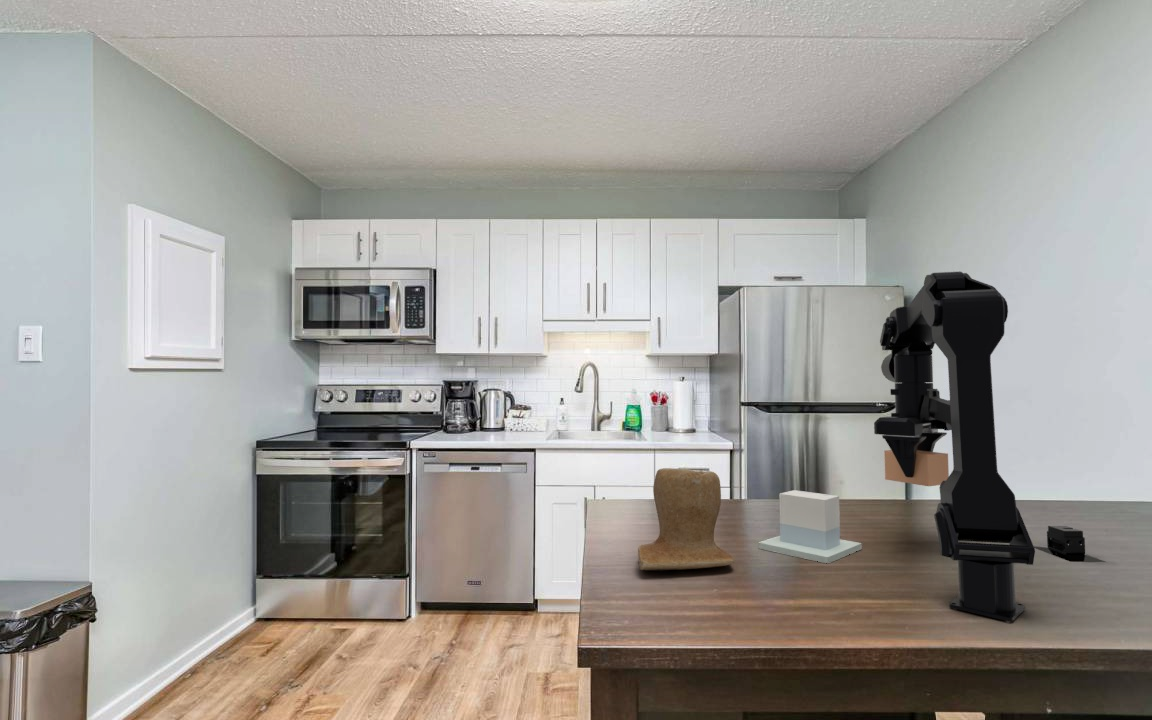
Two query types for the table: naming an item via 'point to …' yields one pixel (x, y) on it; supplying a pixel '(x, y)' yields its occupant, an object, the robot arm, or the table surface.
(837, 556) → the baseplate
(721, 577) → the table surface
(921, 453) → the terracotta brick
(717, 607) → the table surface
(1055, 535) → the black mechanical block
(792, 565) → the table surface
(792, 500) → the ivory brick
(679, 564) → the brown upright flared piece
